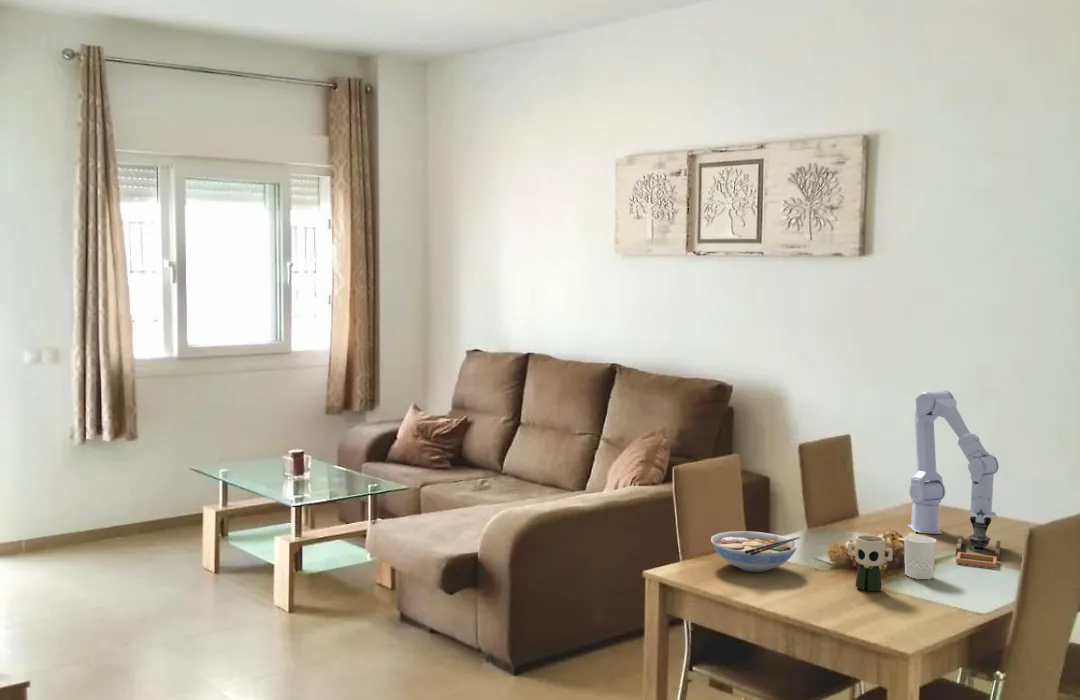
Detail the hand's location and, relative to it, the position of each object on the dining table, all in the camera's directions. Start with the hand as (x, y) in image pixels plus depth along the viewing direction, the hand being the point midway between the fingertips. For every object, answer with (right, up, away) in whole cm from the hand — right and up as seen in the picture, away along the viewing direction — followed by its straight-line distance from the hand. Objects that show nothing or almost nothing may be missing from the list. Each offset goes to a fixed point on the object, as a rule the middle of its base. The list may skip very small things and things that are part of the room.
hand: (979, 542), depth 300 cm
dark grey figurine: (-2, -2, -4) cm, 4 cm away
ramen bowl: (-72, -2, -28) cm, 78 cm away
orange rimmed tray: (-2, -2, -5) cm, 6 cm away
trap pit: (-8, -3, -18) cm, 20 cm away
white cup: (-30, -3, -32) cm, 44 cm away
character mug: (-47, -4, -44) cm, 65 cm away
